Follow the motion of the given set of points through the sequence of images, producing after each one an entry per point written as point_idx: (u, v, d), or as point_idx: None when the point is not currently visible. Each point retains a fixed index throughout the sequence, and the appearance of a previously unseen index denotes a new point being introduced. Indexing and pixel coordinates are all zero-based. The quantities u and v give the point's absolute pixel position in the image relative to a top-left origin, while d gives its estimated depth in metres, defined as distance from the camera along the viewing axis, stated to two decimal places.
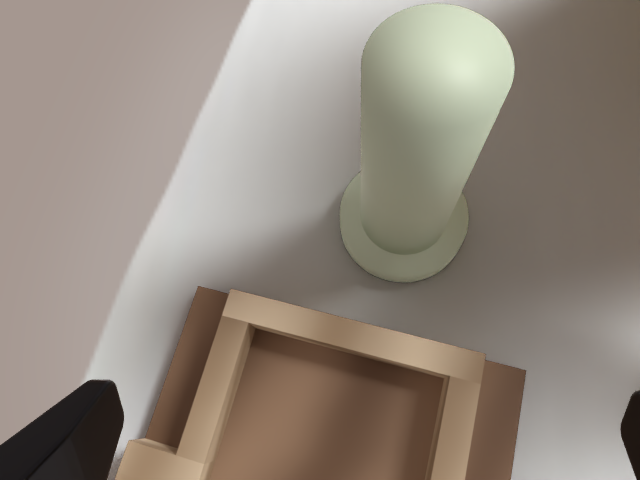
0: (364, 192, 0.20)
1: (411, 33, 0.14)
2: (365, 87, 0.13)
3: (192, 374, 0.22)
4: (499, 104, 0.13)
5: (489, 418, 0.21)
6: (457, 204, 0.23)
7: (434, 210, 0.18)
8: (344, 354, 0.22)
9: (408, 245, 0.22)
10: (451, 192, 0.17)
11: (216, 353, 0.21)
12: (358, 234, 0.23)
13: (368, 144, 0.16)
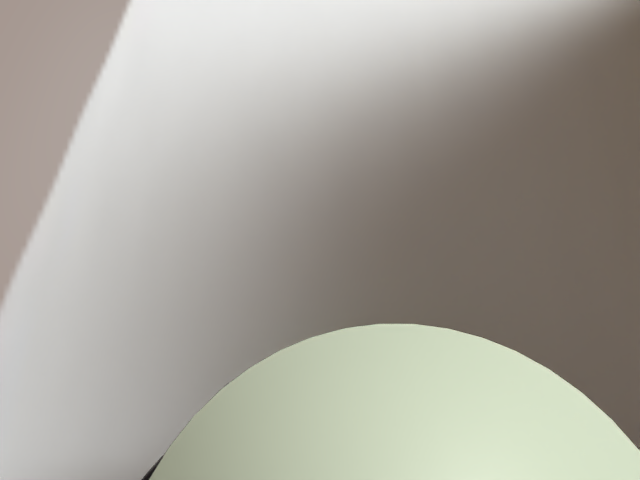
0: None
1: (305, 467, 0.04)
2: None
3: None
4: None
5: None
6: None
7: None
8: None
9: None
10: None
11: None
12: None
13: None
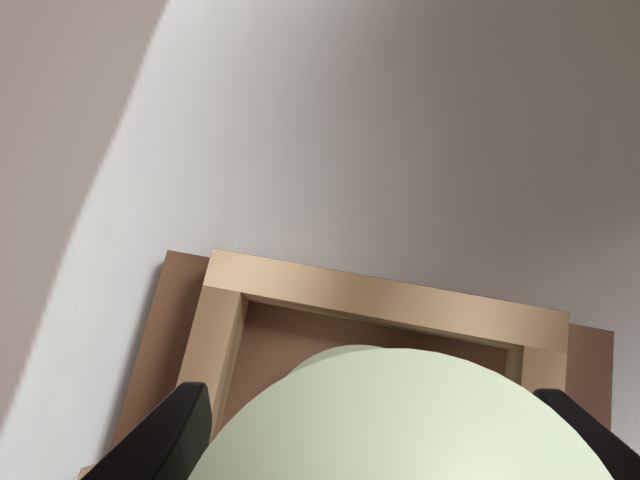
0: None
1: (318, 470, 0.04)
2: None
3: (167, 368, 0.16)
4: None
5: (572, 398, 0.16)
6: None
7: None
8: (372, 327, 0.16)
9: None
10: None
11: (198, 337, 0.15)
12: None
13: None
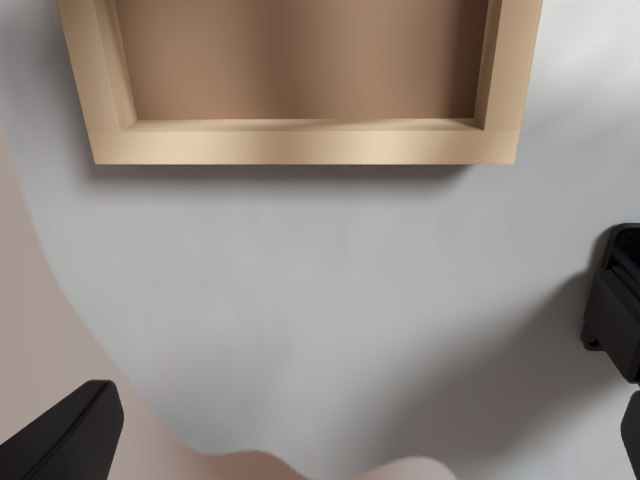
0: None
1: None
2: None
3: None
4: None
5: None
6: None
7: None
8: None
9: None
10: None
11: None
12: None
13: None
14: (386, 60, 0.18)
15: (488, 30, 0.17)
